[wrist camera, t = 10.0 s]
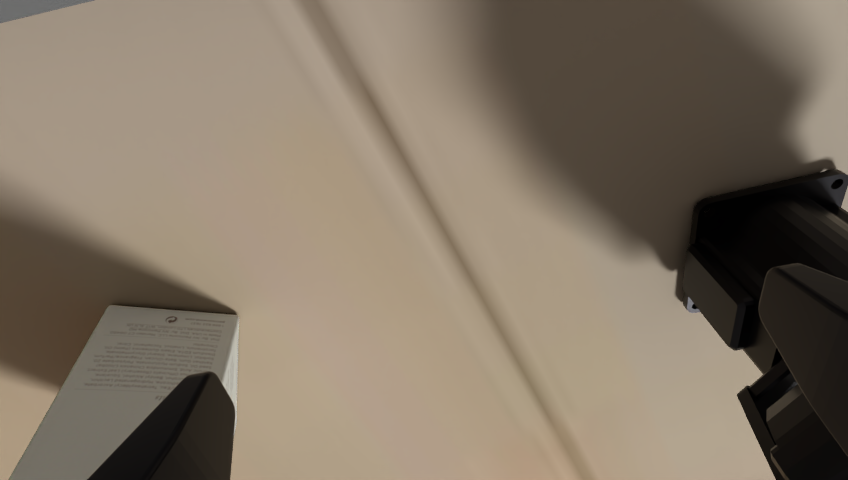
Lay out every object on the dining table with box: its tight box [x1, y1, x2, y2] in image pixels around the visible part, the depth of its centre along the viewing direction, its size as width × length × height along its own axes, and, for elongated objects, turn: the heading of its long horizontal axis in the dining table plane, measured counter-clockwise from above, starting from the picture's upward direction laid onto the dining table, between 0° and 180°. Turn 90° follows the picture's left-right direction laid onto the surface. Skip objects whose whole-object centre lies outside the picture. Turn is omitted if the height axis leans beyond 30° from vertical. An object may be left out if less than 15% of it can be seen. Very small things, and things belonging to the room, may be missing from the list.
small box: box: [9, 305, 239, 480], centre depth 21 cm, size 8×6×10 cm
